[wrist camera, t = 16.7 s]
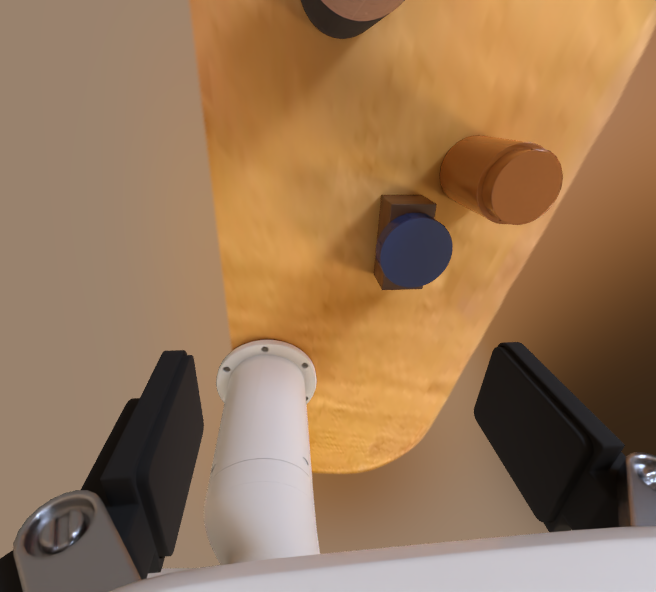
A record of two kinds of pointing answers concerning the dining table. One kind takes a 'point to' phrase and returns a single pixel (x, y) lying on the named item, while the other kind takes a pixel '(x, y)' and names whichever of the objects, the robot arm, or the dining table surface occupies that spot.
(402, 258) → the jar lid
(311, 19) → the travel mug
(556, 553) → the robot arm
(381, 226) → the stand
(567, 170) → the dining table surface
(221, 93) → the dining table surface
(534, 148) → the jam jar
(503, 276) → the dining table surface
